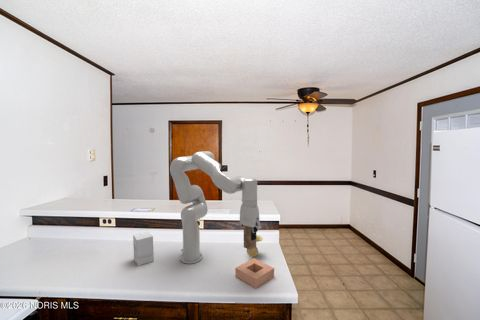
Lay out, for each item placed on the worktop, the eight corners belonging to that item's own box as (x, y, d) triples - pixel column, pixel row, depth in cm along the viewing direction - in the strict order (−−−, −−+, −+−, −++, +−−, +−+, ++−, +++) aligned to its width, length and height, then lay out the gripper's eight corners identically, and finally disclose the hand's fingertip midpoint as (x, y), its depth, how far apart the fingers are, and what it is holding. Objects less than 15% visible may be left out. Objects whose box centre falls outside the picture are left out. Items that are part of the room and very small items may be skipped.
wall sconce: (260, 263, 136) (261, 220, 134) (244, 261, 138) (244, 219, 136) (263, 252, 150) (263, 213, 148) (248, 250, 152) (248, 211, 149)
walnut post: (243, 247, 123) (243, 222, 122) (249, 244, 126) (249, 220, 125) (250, 249, 119) (249, 224, 118) (256, 247, 123) (256, 222, 122)
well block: (235, 276, 123) (235, 267, 123) (253, 266, 133) (253, 258, 133) (255, 288, 114) (255, 279, 113) (274, 276, 123) (274, 268, 123)
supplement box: (149, 255, 145) (149, 231, 144) (154, 261, 138) (153, 236, 136) (133, 259, 140) (132, 234, 138) (137, 266, 132) (136, 239, 131)
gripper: (232, 201, 124) (233, 235, 126) (257, 207, 112) (257, 245, 114) (243, 198, 130) (243, 231, 131) (267, 204, 117) (267, 240, 119)
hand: (250, 237), depth 122 cm, fingers closed on walnut post, 4 cm apart
